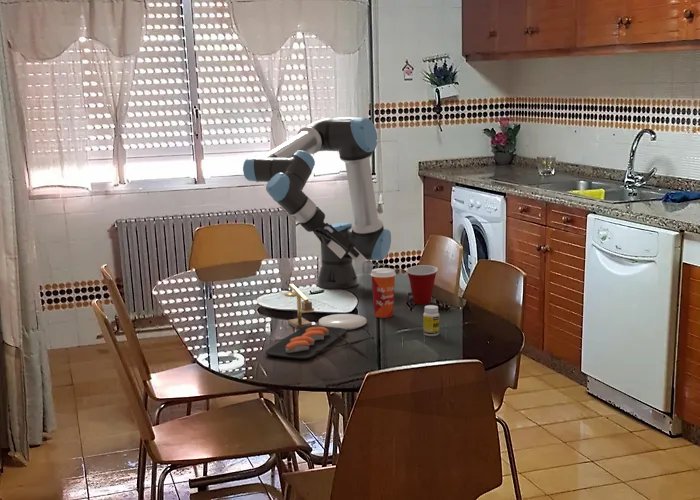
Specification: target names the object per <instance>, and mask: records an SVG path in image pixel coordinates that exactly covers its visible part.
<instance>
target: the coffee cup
mask: <svg viewBox="0 0 700 500" xmlns="http://www.w3.org/2000/svg"><path fill="white" fill-rule="evenodd" d="M396 275H397V273H396V271H395V269H393V268H389V267H380V268H379V267H377V268H373V269H372V270H371V273H370V276H371V287H372V290H371V291H372V299H373V301H372V302H373V303H372V304H373V314H374V316H375V318H381V319H385V318H387V319H389V318H391V317H393V316H394V303H395V286H396V285H395V282H396Z"/></svg>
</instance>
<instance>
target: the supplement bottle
mask: <svg viewBox="0 0 700 500" xmlns="http://www.w3.org/2000/svg"><path fill="white" fill-rule="evenodd" d="M422 317H423V319H422V321H423V323H422V326H423V328H422V329H423V331H422V333H423V335H424V336H426V337H427V336H428V337H436V336H438V335H440V313H439V306H438V305H434V304H427V305H425V306H424V312H423V316H422Z"/></svg>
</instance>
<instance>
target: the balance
mask: <svg viewBox="0 0 700 500" xmlns="http://www.w3.org/2000/svg"><path fill="white" fill-rule="evenodd" d="M289 287H290V291H288V292H285V293H284V297H287V298H288V297H289V298H292V297H293V298H294V297H295V298H296V304H297V305H296V306H297V307H296V308H297V317H296V318H293V319H291V318H290V319H288V320H287V324H288V325H290V326H291V327H293V328H294V329H297V330H299V329H301V328H303V327H305V326H310V325H313V324H312V322H311V321H309V320H308V319H306V318H305V317H302V314H312V313H313V312H315V308H313V302H312V301H311V300H309V299H308V297H307V296H306V295H304V294H303V292H301V290H299V288H298V287H296V285H295V284H294V283H289Z"/></svg>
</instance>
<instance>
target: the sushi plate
mask: <svg viewBox="0 0 700 500" xmlns="http://www.w3.org/2000/svg"><path fill="white" fill-rule="evenodd" d="M347 331H348V330H346V329H343V328H336V327H326V326H320V325H313V324H312V325H310V326H305V327H303V328H301V329H297V330H296V331H294V332H293V333H290V334H289V335H288V336H286V337H284V338H282V339H281V340H280V341H279V342H277V343H275V344H274V345H272V346H270V347H269V348H268V349H267V350H265V355H267V356H271V357H277V358H278V357H281V358H288V359H294V360H295V359H296V360H308V359H311V358H313V357H315V356H316V355H317V354H320V353H321V352H322V351H323V352H324V351H326V350H331V349H335V348H340V347H343V346H351V347H352V348H353V349H354V350H355V351H357V353H359V354H360V355H361V356H363V357H364V358H367V359H368V360H370V361H373V358H371V357H369V356H368V355H367V354H365V352H363V351H361V349H359V348H357V347H356V346H354V345H353V344H357V343H360V342H364V341H366V340H369V339H372V338H373V336H369V337H366V338H362V339H358V340H357V339H356V340H353V341H350V342H349V341H348V340H346V339H345V338H344V337H342V336H344V335H345V334H346V333H347ZM338 339H341V340H342V341H343V342H344V343H341V344H337V345H334V346H333V345H332V344H333V343H335V342H336V341H337V340H338ZM330 345H332V346H330ZM329 346H330V347H329Z"/></svg>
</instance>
